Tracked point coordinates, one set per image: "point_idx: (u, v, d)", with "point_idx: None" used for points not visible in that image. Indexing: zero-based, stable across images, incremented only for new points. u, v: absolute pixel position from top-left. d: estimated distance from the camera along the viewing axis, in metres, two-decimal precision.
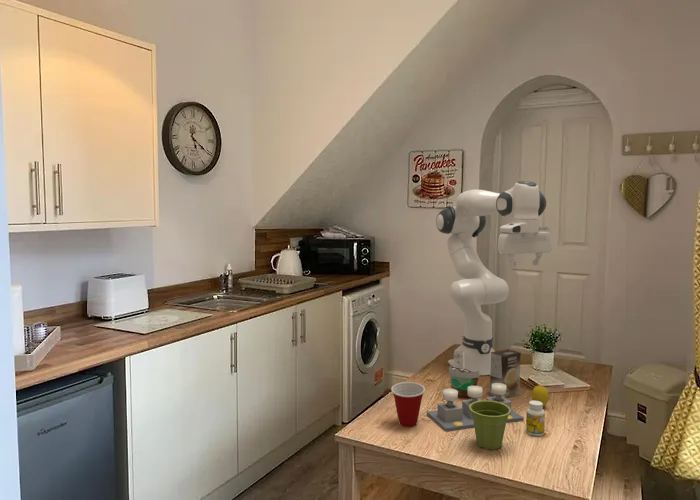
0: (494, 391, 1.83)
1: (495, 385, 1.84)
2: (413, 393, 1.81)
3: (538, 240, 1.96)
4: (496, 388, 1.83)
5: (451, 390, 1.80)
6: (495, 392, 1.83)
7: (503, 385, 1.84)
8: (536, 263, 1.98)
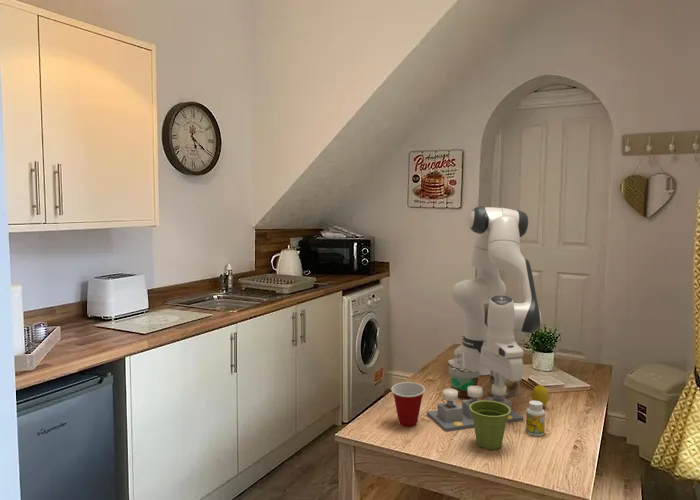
0: (494, 392, 1.83)
1: (495, 386, 1.84)
2: (413, 393, 1.81)
3: None
4: (496, 389, 1.83)
5: (451, 390, 1.80)
6: (495, 393, 1.83)
7: None
8: None
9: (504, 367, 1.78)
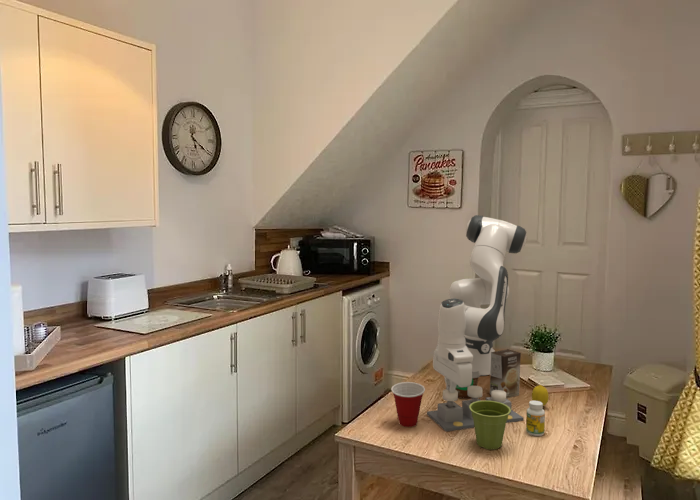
0: (494, 398, 1.84)
1: (495, 392, 1.85)
2: (413, 393, 1.81)
3: None
4: (496, 395, 1.83)
5: None
6: (495, 399, 1.83)
7: (503, 392, 1.85)
8: None
9: (454, 372, 1.73)
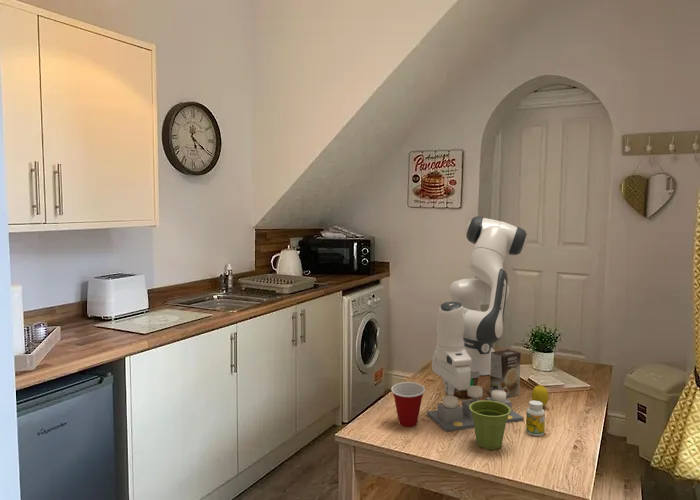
0: (494, 398, 1.84)
1: (495, 392, 1.85)
2: (413, 393, 1.81)
3: None
4: (496, 395, 1.83)
5: (451, 397, 1.80)
6: (495, 399, 1.83)
7: (503, 392, 1.85)
8: None
9: (452, 375, 1.73)
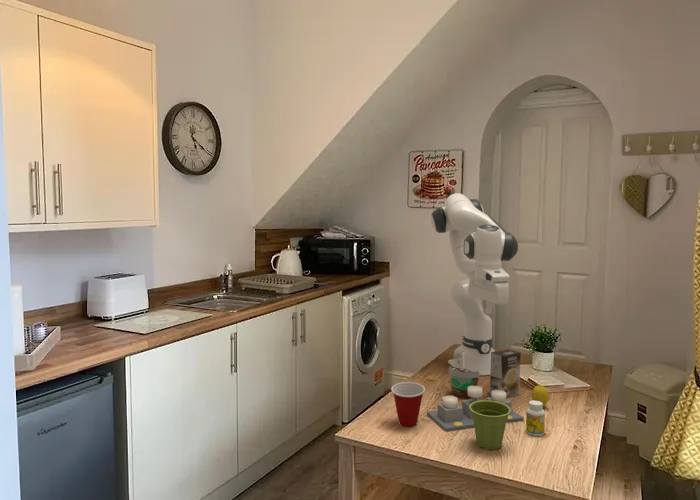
0: (494, 398, 1.84)
1: (495, 392, 1.85)
2: (413, 393, 1.81)
3: None
4: (496, 395, 1.83)
5: (451, 397, 1.80)
6: (495, 399, 1.83)
7: (503, 392, 1.85)
8: None
9: (491, 292, 1.82)
